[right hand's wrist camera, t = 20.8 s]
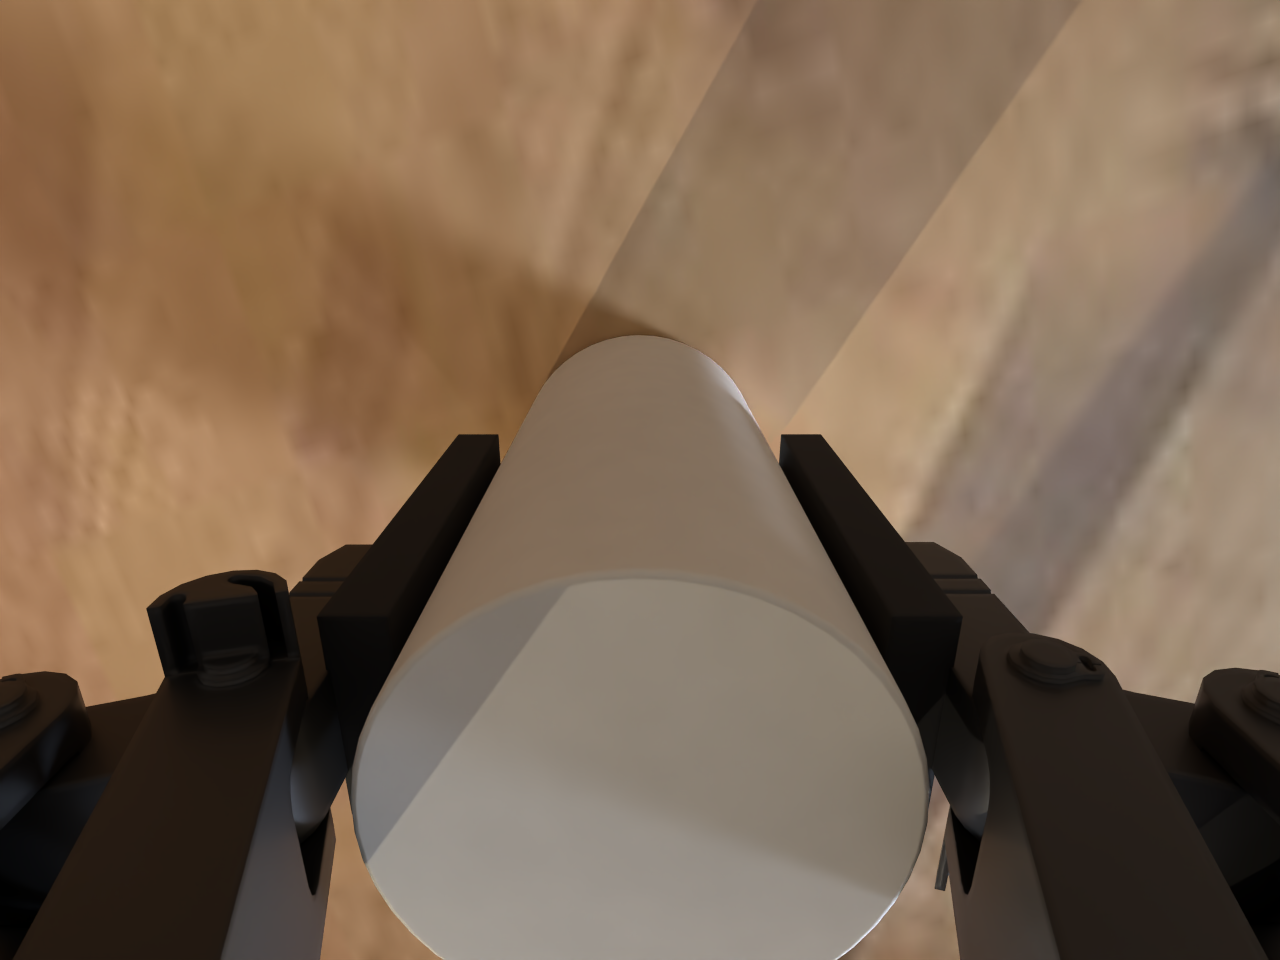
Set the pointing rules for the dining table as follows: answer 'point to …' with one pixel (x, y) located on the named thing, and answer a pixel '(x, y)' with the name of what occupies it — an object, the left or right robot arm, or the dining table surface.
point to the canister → (640, 700)
